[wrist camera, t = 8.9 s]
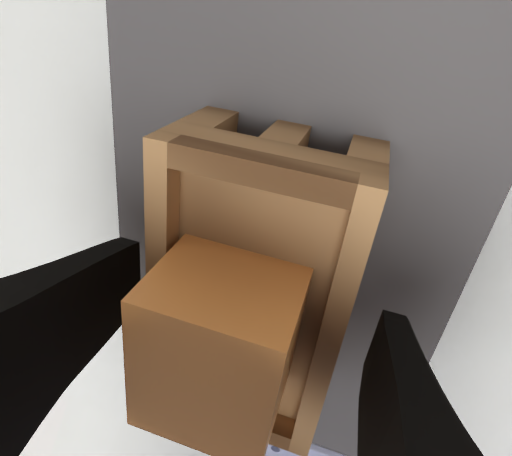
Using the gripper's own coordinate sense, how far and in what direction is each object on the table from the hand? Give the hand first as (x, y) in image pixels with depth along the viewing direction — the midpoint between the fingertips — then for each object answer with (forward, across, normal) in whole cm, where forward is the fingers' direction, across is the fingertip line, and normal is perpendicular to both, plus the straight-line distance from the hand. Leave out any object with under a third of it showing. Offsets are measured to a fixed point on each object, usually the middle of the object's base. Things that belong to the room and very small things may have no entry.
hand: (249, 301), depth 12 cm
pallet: (+3, 0, 0) cm, 3 cm away
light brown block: (0, 0, 0) cm, 0 cm away
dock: (+6, 0, 0) cm, 6 cm away
